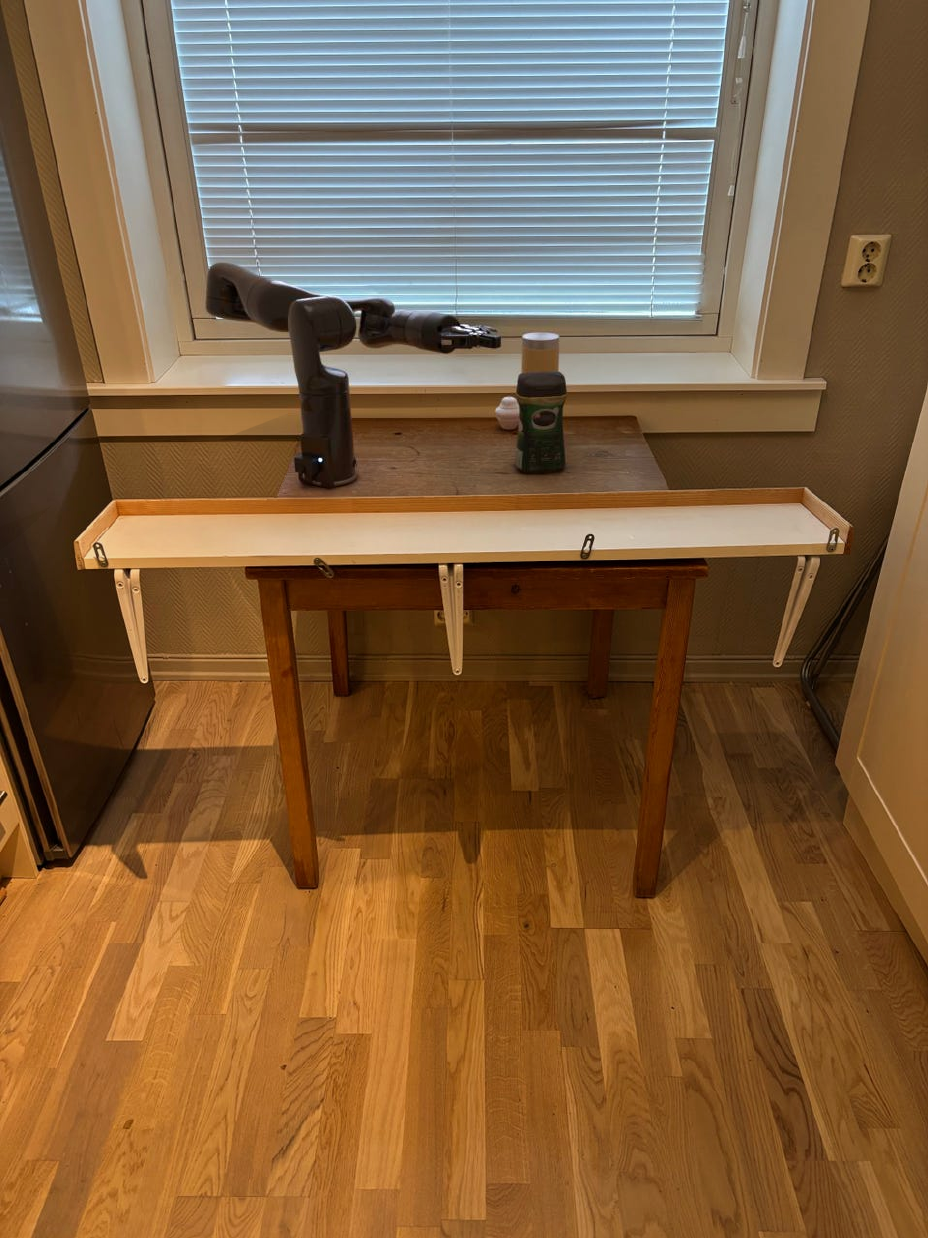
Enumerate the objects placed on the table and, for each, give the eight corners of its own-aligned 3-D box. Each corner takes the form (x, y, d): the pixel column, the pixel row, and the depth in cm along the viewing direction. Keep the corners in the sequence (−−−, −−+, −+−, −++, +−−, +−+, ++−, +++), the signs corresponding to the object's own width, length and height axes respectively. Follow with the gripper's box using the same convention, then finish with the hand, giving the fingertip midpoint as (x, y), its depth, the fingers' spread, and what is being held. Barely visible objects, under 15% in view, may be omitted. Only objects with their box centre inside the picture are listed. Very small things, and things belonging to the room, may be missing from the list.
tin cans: (546, 450, 188) (549, 341, 177) (514, 445, 191) (515, 337, 181) (561, 440, 194) (565, 334, 183) (529, 435, 197) (532, 330, 186)
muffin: (494, 431, 200) (494, 399, 196) (495, 423, 205) (495, 392, 202) (522, 431, 199) (523, 399, 196) (523, 423, 205) (523, 392, 201)
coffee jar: (559, 459, 183) (563, 366, 174) (568, 473, 176) (572, 376, 167) (512, 462, 182) (513, 368, 173) (518, 475, 175) (519, 378, 166)
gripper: (455, 345, 189) (520, 356, 179) (410, 356, 181) (475, 368, 171) (454, 307, 186) (520, 316, 176) (408, 317, 177) (475, 327, 167)
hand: (498, 342), depth 173 cm, fingers closed
